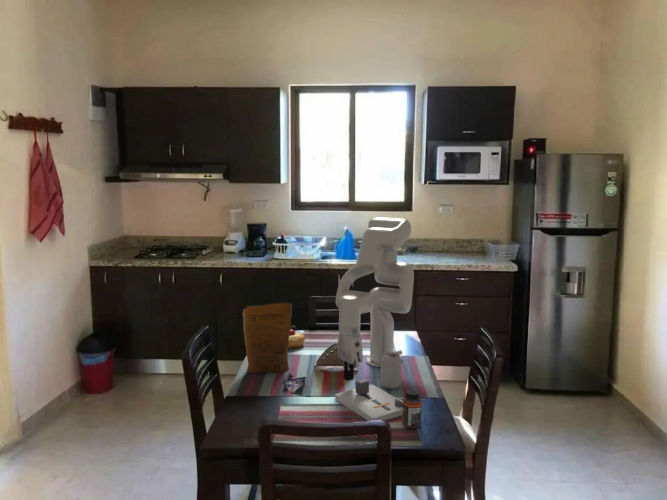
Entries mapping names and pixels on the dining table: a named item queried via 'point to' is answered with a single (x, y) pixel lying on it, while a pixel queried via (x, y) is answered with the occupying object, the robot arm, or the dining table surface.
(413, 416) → the supplement bottle
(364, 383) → the fader knob
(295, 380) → the snack package
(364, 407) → the console board
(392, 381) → the can
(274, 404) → the dining table surface
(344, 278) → the robot arm
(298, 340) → the pastry
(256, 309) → the pancake mix bag
